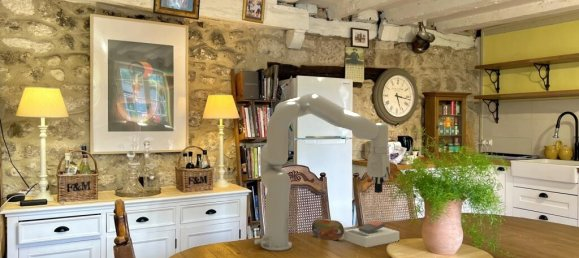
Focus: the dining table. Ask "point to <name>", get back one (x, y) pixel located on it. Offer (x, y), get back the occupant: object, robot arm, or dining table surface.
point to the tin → (327, 229)
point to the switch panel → (371, 237)
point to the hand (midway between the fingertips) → (378, 192)
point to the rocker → (371, 227)
